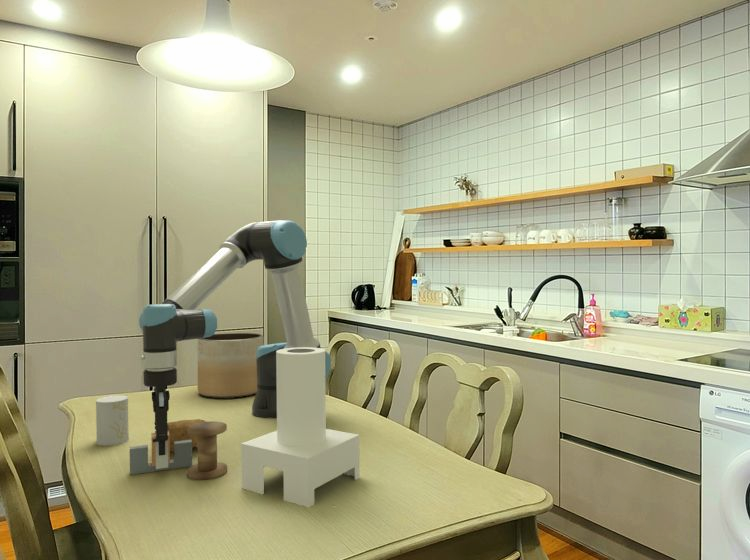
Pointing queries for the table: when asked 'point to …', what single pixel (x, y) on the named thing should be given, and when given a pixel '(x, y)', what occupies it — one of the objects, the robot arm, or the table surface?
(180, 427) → the potato
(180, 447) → the gray board
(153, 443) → the orange brown tapered block
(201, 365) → the planter
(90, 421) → the table surface
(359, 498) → the table surface
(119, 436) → the cup
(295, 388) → the paper towel holder
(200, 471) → the bobbin
